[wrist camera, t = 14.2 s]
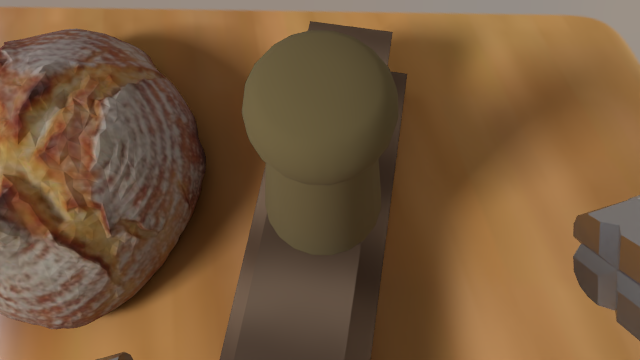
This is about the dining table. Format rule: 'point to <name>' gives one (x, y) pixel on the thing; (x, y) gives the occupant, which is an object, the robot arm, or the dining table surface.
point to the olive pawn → (321, 137)
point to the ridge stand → (313, 273)
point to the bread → (88, 175)
